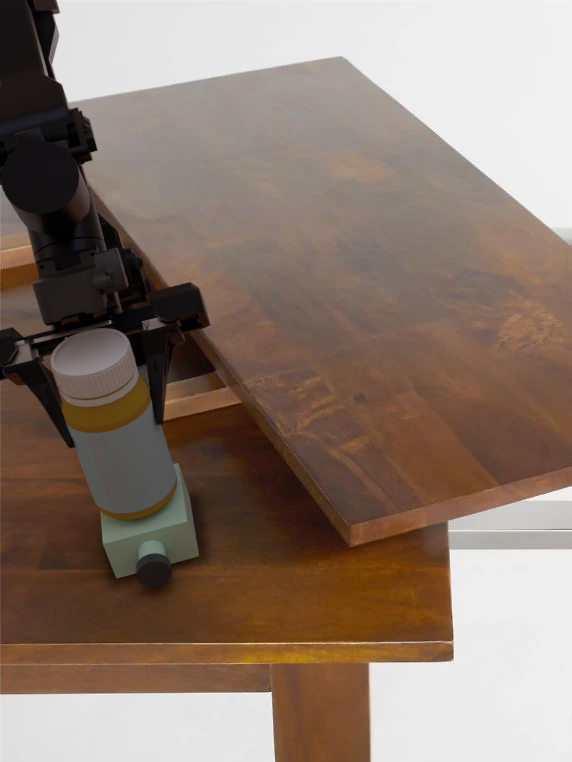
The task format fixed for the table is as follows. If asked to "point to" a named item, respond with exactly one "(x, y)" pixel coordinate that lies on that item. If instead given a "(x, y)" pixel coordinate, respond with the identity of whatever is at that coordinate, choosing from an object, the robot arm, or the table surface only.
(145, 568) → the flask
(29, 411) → the table surface
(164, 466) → the bottle
